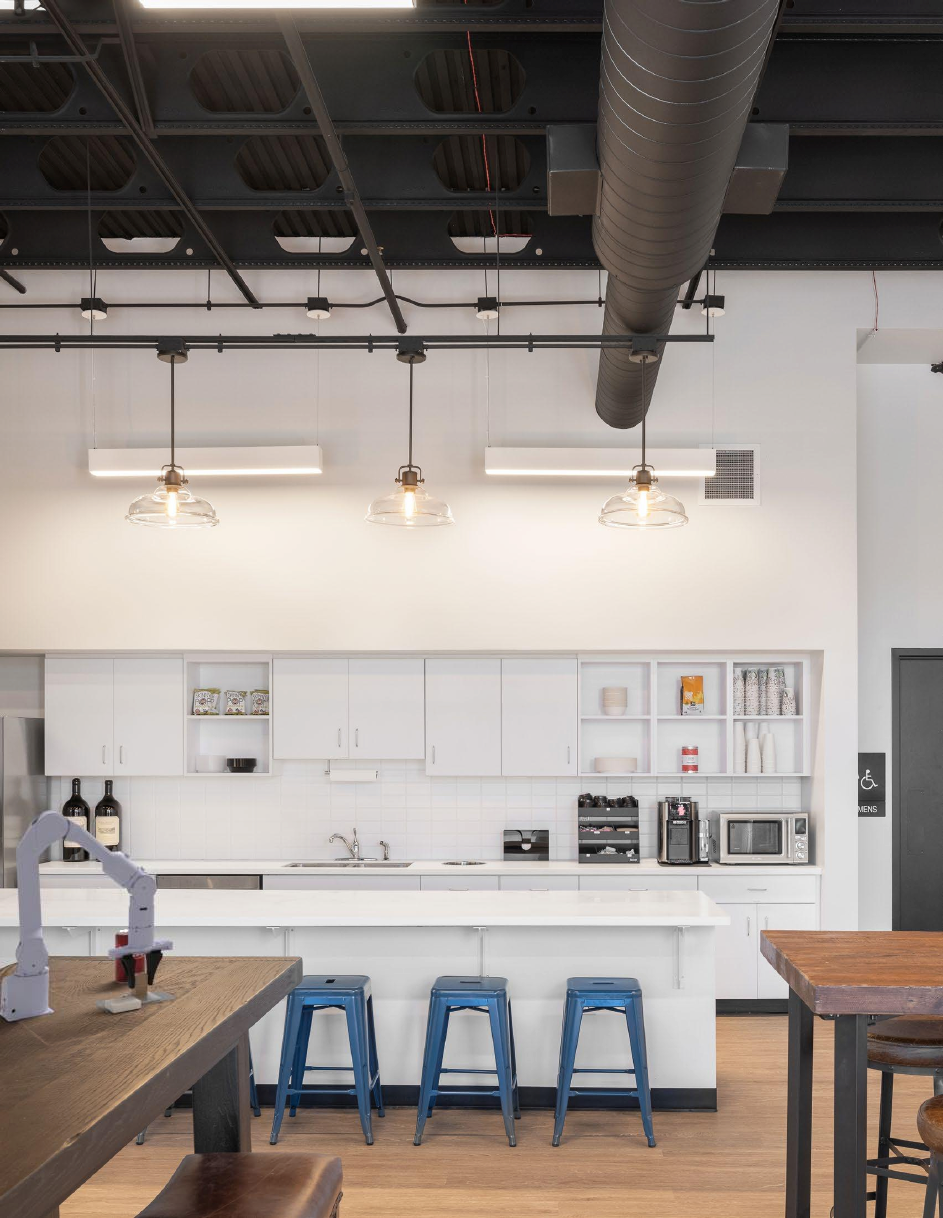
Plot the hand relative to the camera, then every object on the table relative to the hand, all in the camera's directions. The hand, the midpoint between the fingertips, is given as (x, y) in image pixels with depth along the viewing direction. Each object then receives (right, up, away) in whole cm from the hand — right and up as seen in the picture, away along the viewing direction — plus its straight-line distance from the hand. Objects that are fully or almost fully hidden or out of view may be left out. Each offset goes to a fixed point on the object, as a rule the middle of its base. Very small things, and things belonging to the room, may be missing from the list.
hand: (140, 986), depth 236 cm
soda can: (-8, -5, +17) cm, 19 cm away
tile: (-3, -1, -7) cm, 8 cm away
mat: (0, -3, -3) cm, 4 cm away
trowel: (+1, -2, -1) cm, 3 cm away
